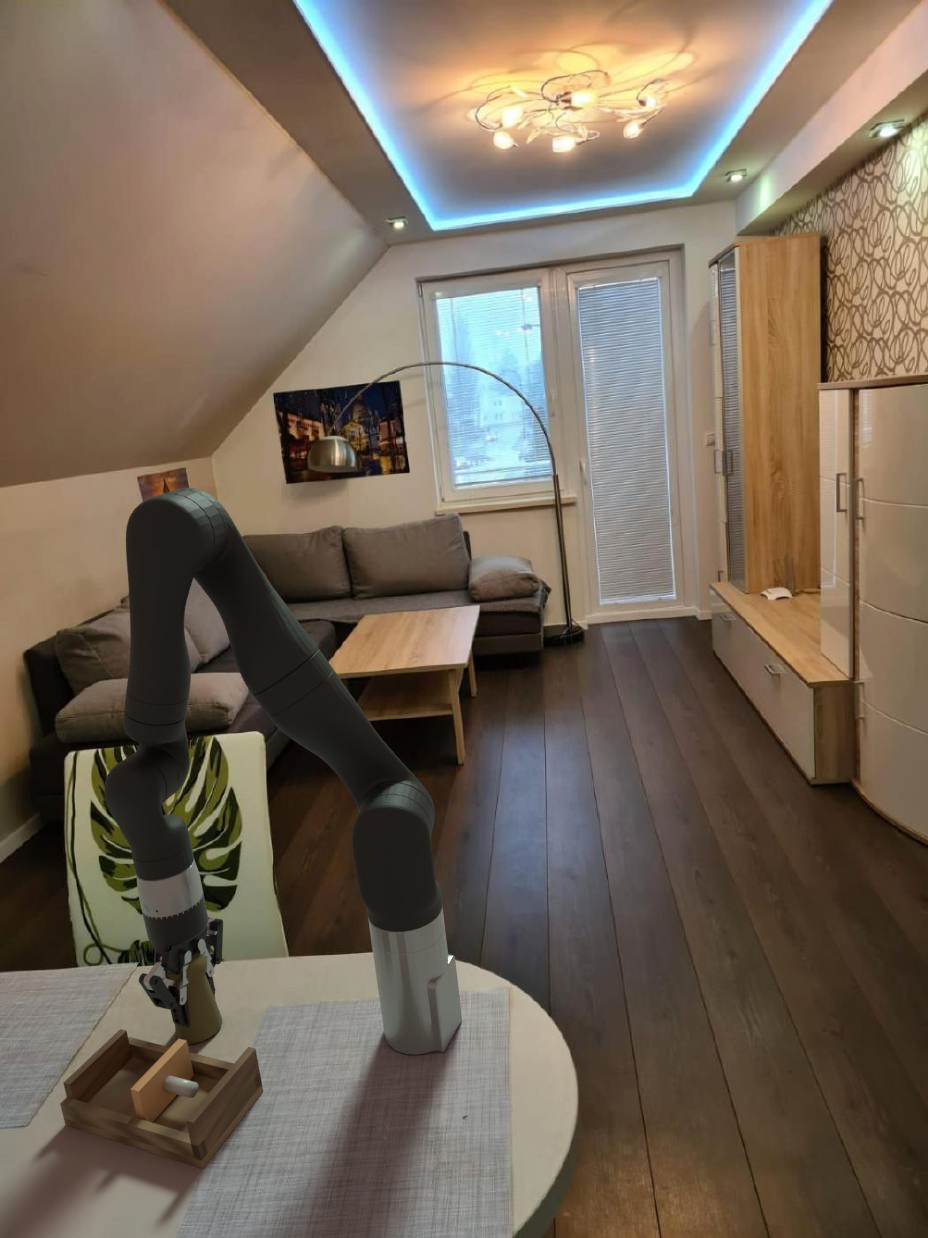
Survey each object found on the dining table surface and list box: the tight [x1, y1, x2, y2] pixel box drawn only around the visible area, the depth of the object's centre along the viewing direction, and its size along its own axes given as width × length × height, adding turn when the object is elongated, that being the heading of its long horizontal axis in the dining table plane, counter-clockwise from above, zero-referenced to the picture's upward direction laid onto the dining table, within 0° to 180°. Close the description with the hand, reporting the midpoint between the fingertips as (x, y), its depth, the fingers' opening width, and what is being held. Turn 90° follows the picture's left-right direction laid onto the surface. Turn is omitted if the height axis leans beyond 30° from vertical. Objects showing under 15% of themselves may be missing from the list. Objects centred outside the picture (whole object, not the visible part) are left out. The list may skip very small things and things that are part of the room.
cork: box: [167, 952, 223, 1045], centre depth 110 cm, size 6×6×11 cm
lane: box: [59, 1028, 264, 1169], centre depth 98 cm, size 20×11×6 cm, turn 68°
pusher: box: [131, 1039, 198, 1122], centre depth 97 cm, size 5×8×5 cm, turn 158°
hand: (196, 1012), depth 111 cm, fingers closed on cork, 4 cm apart
